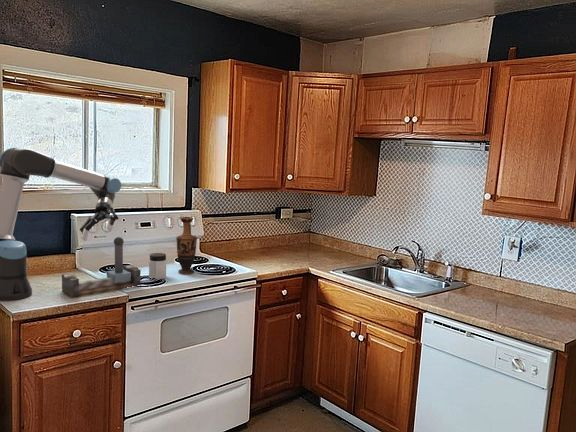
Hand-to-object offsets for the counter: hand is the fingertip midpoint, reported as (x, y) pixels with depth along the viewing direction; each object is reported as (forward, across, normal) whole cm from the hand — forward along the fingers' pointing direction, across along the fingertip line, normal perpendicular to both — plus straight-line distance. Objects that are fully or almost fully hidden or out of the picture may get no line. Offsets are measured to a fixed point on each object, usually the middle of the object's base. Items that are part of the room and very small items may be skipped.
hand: (96, 234), depth 233 cm
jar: (+3, -13, -36) cm, 38 cm away
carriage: (+15, -3, -19) cm, 24 cm away
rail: (+21, +4, -16) cm, 27 cm away
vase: (-5, -23, -46) cm, 52 cm away
